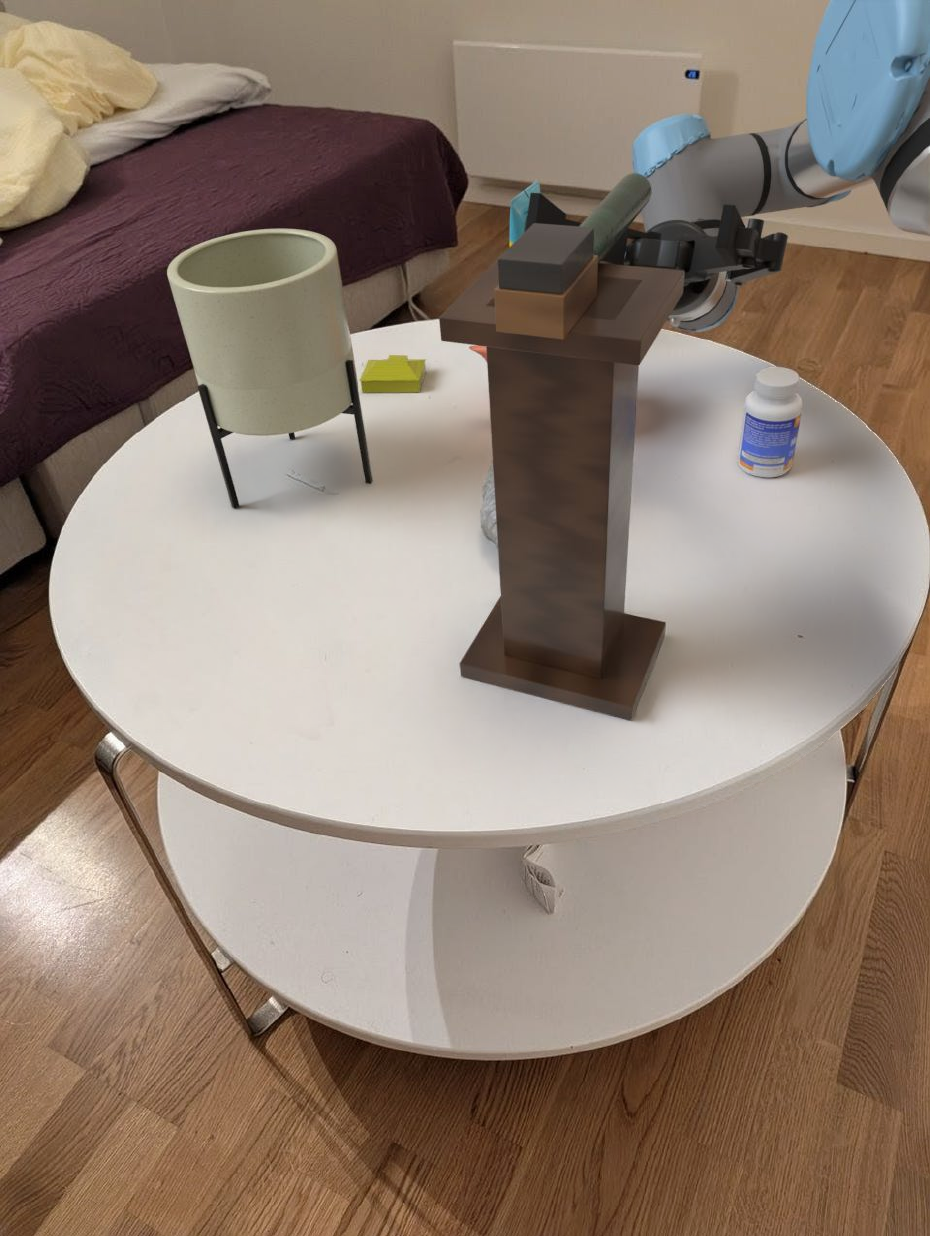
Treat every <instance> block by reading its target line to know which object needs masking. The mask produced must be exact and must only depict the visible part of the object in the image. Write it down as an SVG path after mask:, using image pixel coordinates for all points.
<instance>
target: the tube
mask: <svg viewBox="0 0 930 1236" xmlns="http://www.w3.org/2000/svg"><path fill="white" fill-rule="evenodd" d="M540 185H541V184H540V181H539V180H535V181H534V182H533V183H531V185H529V186H528V187H527V188H525V189H524V190H523V191H521V192H520V193H518V194H517V195H516V196H515V197H514V198H512V199H511V200H510V213H509V240H508V241H509V247H510V246H511V245H512V244H513V243H514V242H515V241H516V240H517V239H518V238H519V237H520V236H521V235H522V234H524V229H525V222H526V216H527V214H528V207H529V200H530V194H531V193H541V186H540ZM509 247H508V248H509Z"/></svg>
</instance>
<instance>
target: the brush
mask: <svg viewBox="0 0 930 1236" xmlns="http://www.w3.org/2000/svg"><path fill="white" fill-rule="evenodd" d="M651 193H652V190H651V185H650V183H649V181H648V180H647V178H646V177H644V176H643V175H641V174H638V173H634V172H631V173H628V174H626V175H625V176H624V177H622V178H621V180H620V181H618V183H617V184H616V185H615V186H614V187H613V188H612V189H611V190H610V192H608V194H607V195H606V196H605V197H604V198H603V199H602V201H600V203H599V204H598V205H597V206H596V207H595V208H594V210H592V211H591V213H590V214H589V215H588V216H587V217H586V218H585V219H584V220H583V221H582V222H581V223H582V224H581V225H580V226H566V225H552V224H539V223H534V224H533V225H532V226H531V227H530V228H529V229H528V230H527V231H526V232H525V233H524V234H522V235H521V236H520V237H519V238H518V239H517V240H516V241H515V242H514V243H513V244H512V245H511V246H510V247H508V248H507V249H506V250H505V251H504V252H503V253H502V254H501V255H500V256H499V257H497V260H498V278H499V285H498V286H497V287H496V288H495V289H494V298H495V318H496V331H497V332H505V333H513V334H522V335H530V336H539V337H547V338H556V339H565V337H566V336H567V335H568V333H569V332H570V331H571V329H572V328H573V327H574V325H575V324H576V323H577V321H578V320H579V319H580V318H581V316H582V315H583V314H584V312H585V311H586V310H587V308H588V307H589V306H590V304H591V303H592V302H593V300H594V299H595V298H596V297H597V274H598V264H599V263H600V262H601V260H602V259H603V258H604V257H605V255H606V254H607V253H608V252H609V250H610V249H611V248H612V247H613V245H614V244H615V243H616V242H617V240H618V239H619V238H620V237H621V235H622V234H623V233H624V232H625V231H626V229H627V228H629V227H630V225H631V224H632V223H633V222H634V221H635V220H636V219H637V217H638V216H639V215H640V213H641V211H642V209H643V208H644V207H645V206H646V204H647V203H648V202H649V200H650V198H651Z"/></svg>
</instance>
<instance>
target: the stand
mask: <svg viewBox="0 0 930 1236" xmlns="http://www.w3.org/2000/svg"><path fill="white" fill-rule="evenodd" d="M684 276H685V271H683V270H672V269H660V268H649V267H637V266H626V265H615V264H603V263H599V264H598V274H597V297H596V298H595V299H594V300H593V302H592V303H591V304H590V306H589V307H588V308H587V310H586V311H585V312H584V314H583V315H582V316H581V318H580V319H579V320H578V321H577V323H576V324H575V325H574V327H573V328H572V329H571V331H570V332H569V333H568V335H567V336H566V337H565V339H556V338H547V337H539V336H530V335H522V334H513V333H505V332H497V331H496V318H495V298H494V289H495V288H496V287H497V286H498V285H499V278H498V259H496V261H494V262H493V263H492V264H491V265H490V266H489V267H488V268H487V269H486V270H485V271H484V272H483V273H482V274H481V275H480V276H479V277H477V279H476V280H475V281H474V282H473V283H472V284H471V285H470V286H469V287H468V288H467V289H466V290H465V291H464V292H463V293H461V295H460V296H459V297H458V298H457V299H456V300H455V301H454V302H453V303H452V304H450V306H449V307H448V308H447V309H446V310H445V311H444V312H443V313H442V314H441V315H440V316H439V317H438V321H439V322H438V323H439V331H440V341H441V342H445V343H455V344H462V345H463V344H464V345H469V346H476V345H478V346H486V350H487V362H486V366H487V382H488V383H487V384H488V398H489V399H488V400H489V401H488V403H489V417H490V435H491V451H492V461H493V471H494V488H495V505H496V522H497V540H498V548H497V555H498V572H499V589H500V590H499V591H500V596H499V597H498V599H497V601H496V603H495V604H494V606H493V607H492V610H491V611H490V613H489V614H488V616H487V618H486V619H485V620H484V623H483V624H482V625H481V628H480V629H479V631H478V632H477V634H476V636H475V637H474V639H473V641H472V642H471V644H470V646H469V647H468V649H467V650H466V652H465V654H464V656H463V657H462V659H461V660H460V662H459V670H460V677H461V678H465V679H469V680H474V681H478V682H481V683H484V684H488V685H493V686H496V687H500V688H504V689H508V690H512V691H516V692H520V693H524V694H527V695H531V696H534V697H538V698H542V699H547V700H549V701H553V702H558V703H562V704H565V705H570V706H573V707H577V708H580V709H585V710H588V711H593V712H597V713H599V714H600V713H601V714H604V715H608V716H611V717H616V718H619V719H624V720H627V721H632V720H633V718H634V716H635V713H636V710H637V707H638V705H639V703H640V700H641V697H642V695H643V693H644V689H645V687H646V685H647V682H648V680H649V676H650V674H651V672H652V670H653V666H654V664H655V661H656V660H657V657H658V654H659V652H660V649H661V646H662V644H663V642H664V639H665V635H666V627H667V622H666V621H662V620H657V619H653V618H648V617H644V616H639V615H635V614H630V613H626V612H625V604H626V603H625V602H626V589H627V588H626V587H627V573H628V572H627V571H628V568H627V567H628V555H629V553H628V552H629V538H630V537H629V535H630V521H631V520H630V519H631V502H632V489H633V488H632V486H633V471H634V453H635V452H634V450H635V435H636V434H635V433H636V419H637V402H638V387H639V385H638V384H639V368H640V365H641V364H642V362H643V360H644V358H645V357H646V356H647V354H648V352H649V351H650V349H651V347H652V345H653V344H654V342H655V340H656V339H657V337H658V335H659V334H660V332H661V330H662V329H663V328H664V326H665V324H666V323H667V322H668V320H667V319H668V317H669V316H670V314H671V312H672V311H673V309H674V307H675V306H676V304H677V302H678V301H679V299H680V298H681V296H682V294H683V287H684Z"/></svg>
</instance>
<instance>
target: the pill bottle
mask: <svg viewBox="0 0 930 1236" xmlns="http://www.w3.org/2000/svg"><path fill="white" fill-rule="evenodd" d="M799 385H800V375H799V373H797V371H795V370H793V369H791V368H787V367H783V366H769V367H765V368H762V369H760V370H759V371H757V373H756V374H755V379H754V384H753V389H754V390H751V392H749V393H748V395H747V396H746V398H745V400H744V406H743V415H742V422H741V430H740V437H739V444H738V445H739V446H738V452H737V464H738V467H739V468H740V469H741V470H742V471H743V472H745V473H747V474H748V475H750V476H754V477H759V478H776V477H780V476H784V475H786V474H787V473H788V472H789V471H790V470H791V468H792V466H793V463H794V460H795V459H794V458H795V453H796V448H797V447H796V446H797V441H798V436H799V430H800V424H801V419H802V413H803V408H804V401H803V399H802V397H801V396H800V395H799V394H798V391H799V389H800V388H799Z"/></svg>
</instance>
